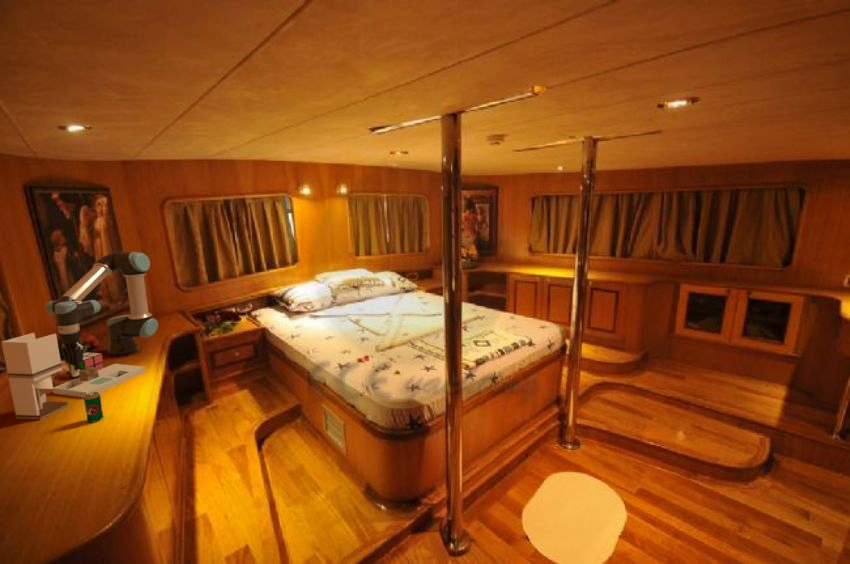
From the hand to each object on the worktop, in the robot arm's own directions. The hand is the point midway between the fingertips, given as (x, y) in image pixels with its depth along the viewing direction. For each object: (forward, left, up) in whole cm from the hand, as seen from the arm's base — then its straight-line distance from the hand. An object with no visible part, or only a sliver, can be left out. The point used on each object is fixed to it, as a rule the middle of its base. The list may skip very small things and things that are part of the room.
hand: (76, 375), depth 182 cm
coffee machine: (+25, +15, -5) cm, 30 cm away
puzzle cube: (-11, -9, -5) cm, 15 cm away
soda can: (+25, +43, -5) cm, 50 cm away
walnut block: (-1, +7, -2) cm, 7 cm away
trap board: (-4, +10, -4) cm, 12 cm away
